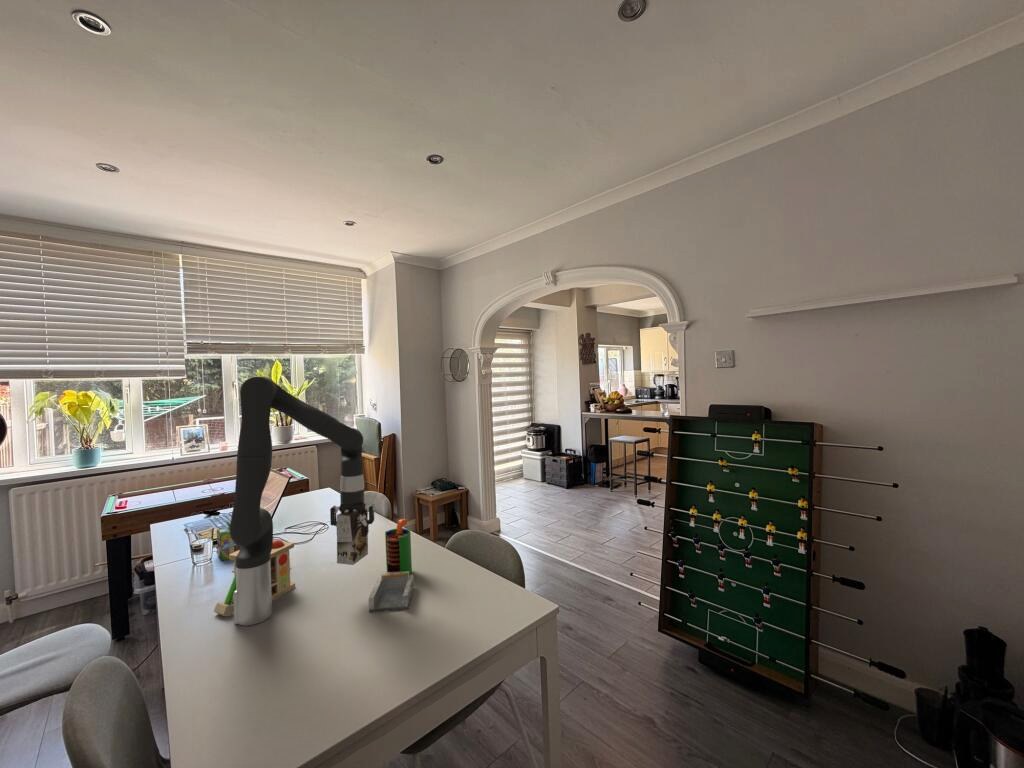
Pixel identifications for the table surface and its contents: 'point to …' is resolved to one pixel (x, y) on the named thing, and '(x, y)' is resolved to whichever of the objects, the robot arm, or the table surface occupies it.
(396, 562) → the motor
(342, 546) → the coffee box
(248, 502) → the robot arm
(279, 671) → the table surface
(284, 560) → the pounding bench toy
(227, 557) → the chalk box
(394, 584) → the grey open tray
